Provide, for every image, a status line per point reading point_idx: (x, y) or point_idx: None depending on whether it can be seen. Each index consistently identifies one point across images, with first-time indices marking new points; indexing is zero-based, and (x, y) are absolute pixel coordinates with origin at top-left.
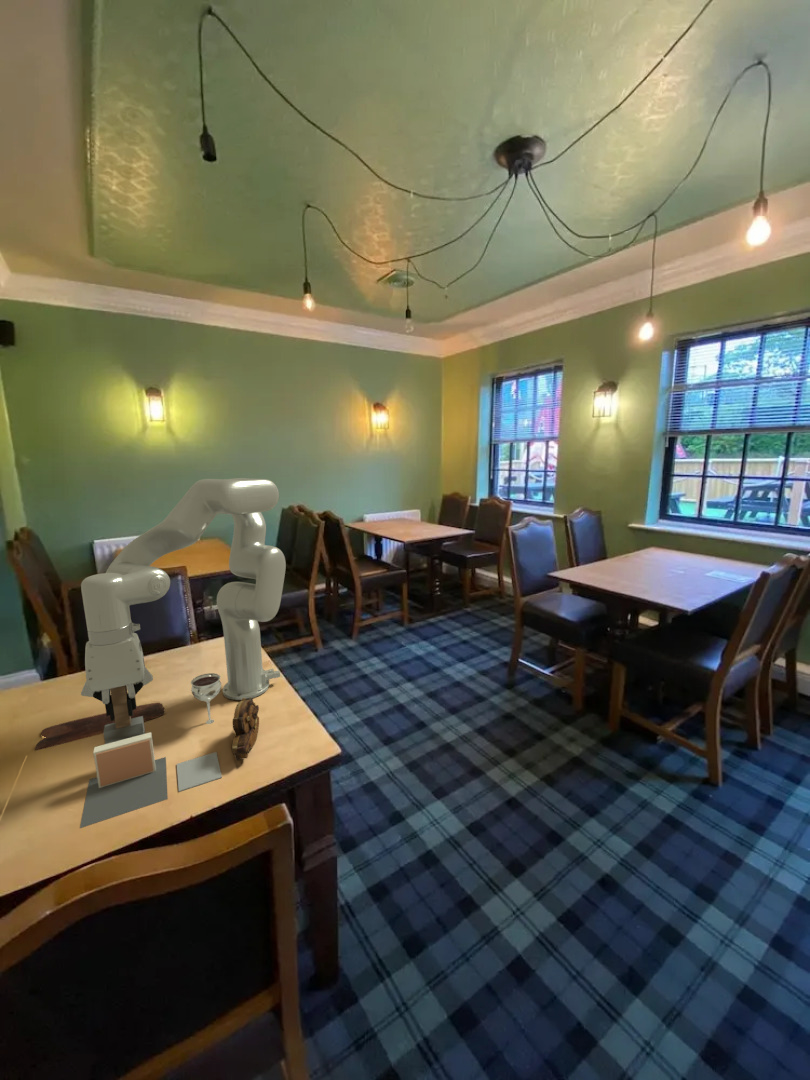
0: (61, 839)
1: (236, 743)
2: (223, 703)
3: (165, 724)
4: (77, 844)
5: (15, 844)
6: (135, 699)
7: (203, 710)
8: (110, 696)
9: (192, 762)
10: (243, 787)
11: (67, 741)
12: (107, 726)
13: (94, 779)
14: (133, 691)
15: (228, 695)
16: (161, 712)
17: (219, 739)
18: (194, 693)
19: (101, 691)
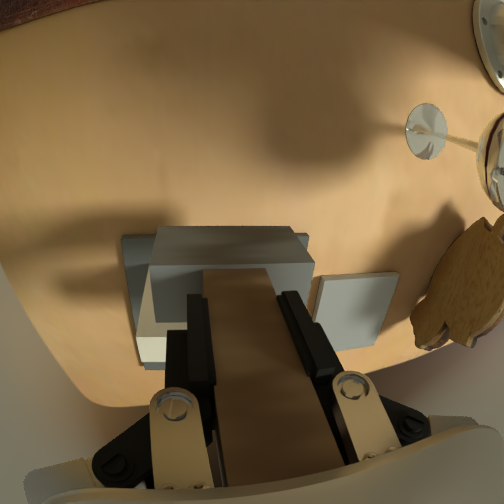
0: (121, 367)
1: (430, 345)
2: (466, 58)
3: (330, 42)
4: (149, 384)
5: (54, 346)
6: (331, 353)
7: (428, 49)
8: (205, 432)
9: (352, 290)
10: (383, 360)
11: (42, 10)
12: (163, 284)
13: (134, 246)
14: (345, 451)
15: (485, 51)
16: None
17: (420, 216)
18: (492, 186)
19: (149, 474)
